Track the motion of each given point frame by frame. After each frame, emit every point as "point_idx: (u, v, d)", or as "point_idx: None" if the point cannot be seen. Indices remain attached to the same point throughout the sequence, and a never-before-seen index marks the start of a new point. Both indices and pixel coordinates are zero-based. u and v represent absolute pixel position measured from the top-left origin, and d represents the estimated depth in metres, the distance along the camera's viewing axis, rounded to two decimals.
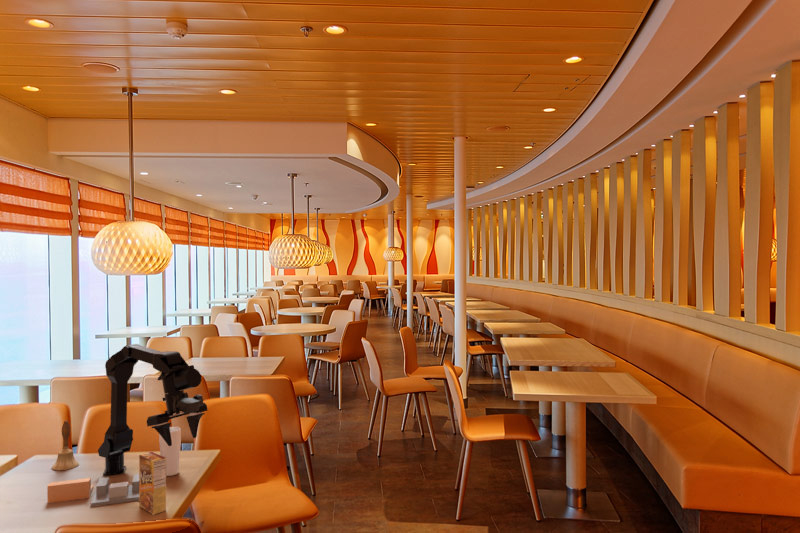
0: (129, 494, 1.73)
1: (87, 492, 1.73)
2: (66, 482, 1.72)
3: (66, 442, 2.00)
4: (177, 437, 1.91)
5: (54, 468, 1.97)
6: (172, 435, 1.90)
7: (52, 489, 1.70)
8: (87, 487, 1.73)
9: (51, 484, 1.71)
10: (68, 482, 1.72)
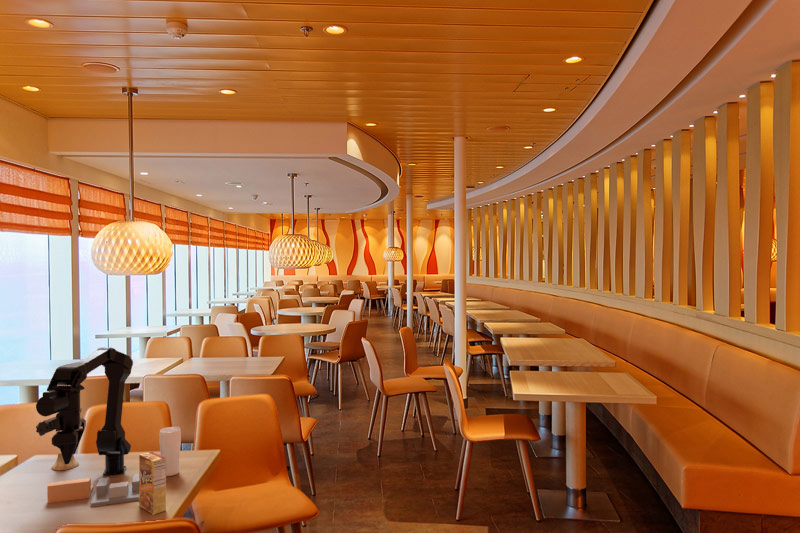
0: (129, 494, 1.73)
1: (87, 492, 1.73)
2: (66, 482, 1.72)
3: None
4: (177, 437, 1.91)
5: (54, 468, 1.97)
6: (172, 435, 1.90)
7: (52, 489, 1.70)
8: (87, 487, 1.73)
9: (51, 484, 1.71)
10: (68, 482, 1.72)
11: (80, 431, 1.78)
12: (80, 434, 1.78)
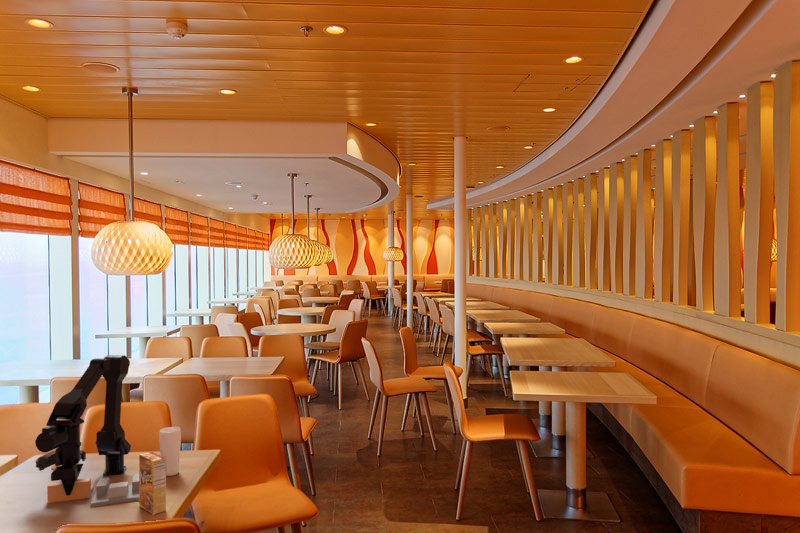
0: (129, 494, 1.73)
1: (87, 492, 1.73)
2: None
3: None
4: (177, 437, 1.91)
5: (54, 468, 1.97)
6: (172, 435, 1.90)
7: (52, 489, 1.70)
8: (87, 487, 1.73)
9: (51, 484, 1.71)
10: None
11: (78, 467, 1.76)
12: (78, 470, 1.75)
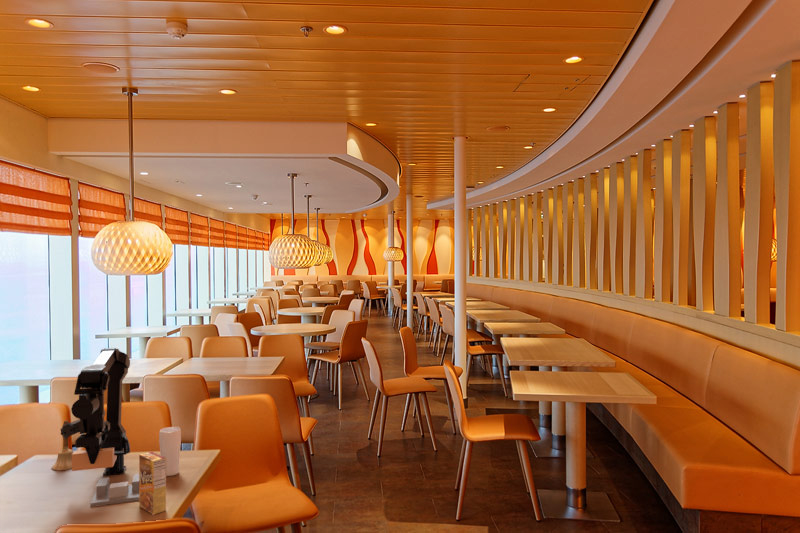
0: (129, 494, 1.73)
1: (111, 461, 1.73)
2: None
3: (66, 442, 2.00)
4: (177, 437, 1.91)
5: (54, 468, 1.97)
6: (172, 435, 1.90)
7: (77, 457, 1.70)
8: (111, 456, 1.73)
9: (75, 452, 1.71)
10: None
11: (102, 436, 1.75)
12: (102, 439, 1.75)
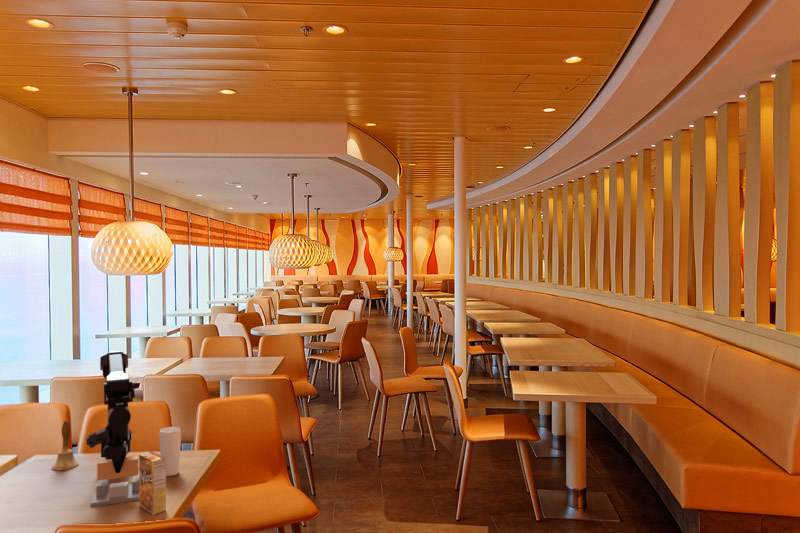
0: (129, 494, 1.73)
1: (136, 470, 1.73)
2: None
3: (66, 442, 2.00)
4: (177, 437, 1.91)
5: (54, 468, 1.97)
6: (172, 435, 1.90)
7: (102, 466, 1.70)
8: (136, 465, 1.73)
9: (100, 462, 1.71)
10: None
11: None
12: None
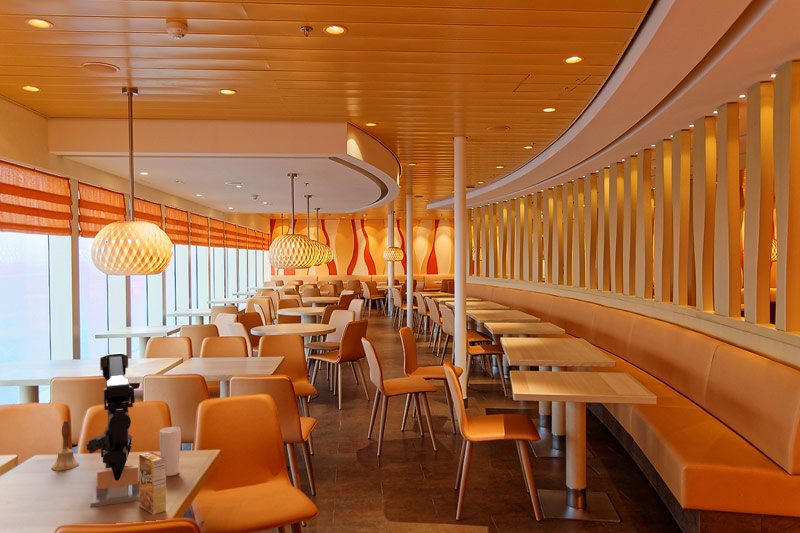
0: (129, 494, 1.73)
1: (136, 478, 1.73)
2: None
3: (66, 442, 2.00)
4: (177, 437, 1.91)
5: (54, 468, 1.97)
6: (172, 435, 1.90)
7: (102, 475, 1.70)
8: (136, 473, 1.73)
9: (100, 470, 1.71)
10: None
11: (127, 449, 1.77)
12: (127, 452, 1.77)
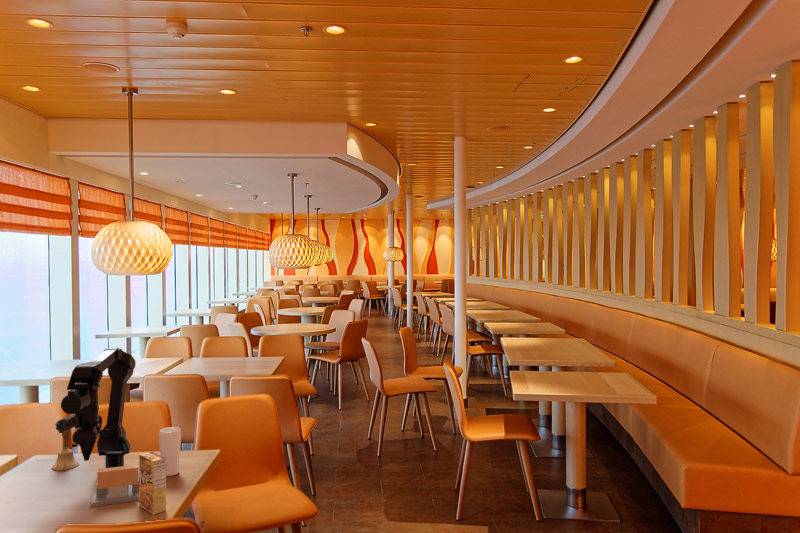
0: (129, 494, 1.73)
1: (136, 478, 1.73)
2: (115, 468, 1.72)
3: (66, 442, 2.00)
4: (177, 437, 1.91)
5: (54, 468, 1.97)
6: (172, 435, 1.90)
7: (102, 475, 1.70)
8: (136, 473, 1.73)
9: (100, 470, 1.71)
10: (117, 469, 1.72)
11: (97, 428, 1.82)
12: (97, 431, 1.82)
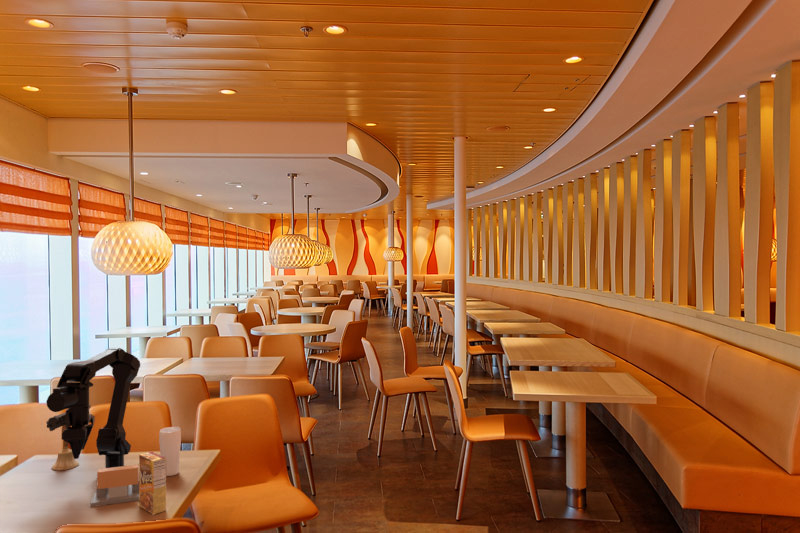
0: (129, 494, 1.73)
1: (136, 478, 1.73)
2: (115, 468, 1.72)
3: (66, 442, 2.00)
4: (177, 437, 1.91)
5: (54, 468, 1.97)
6: (172, 435, 1.90)
7: (102, 475, 1.70)
8: (136, 473, 1.73)
9: (100, 470, 1.71)
10: (117, 469, 1.72)
11: (89, 427, 1.83)
12: (89, 430, 1.83)
